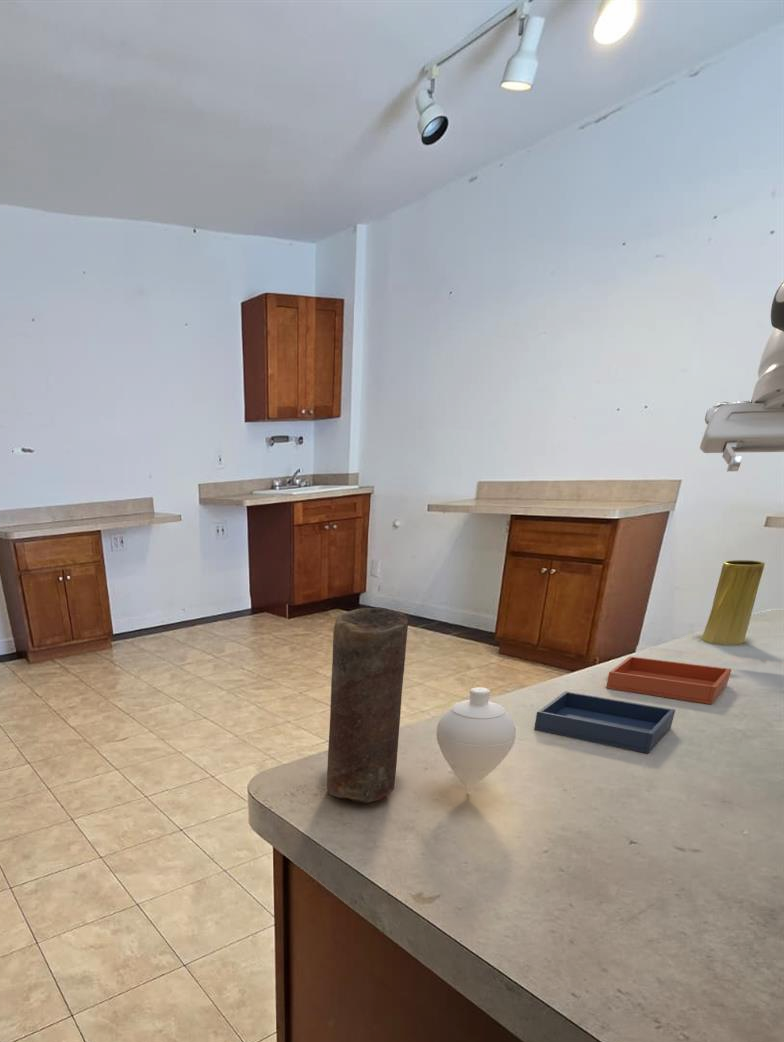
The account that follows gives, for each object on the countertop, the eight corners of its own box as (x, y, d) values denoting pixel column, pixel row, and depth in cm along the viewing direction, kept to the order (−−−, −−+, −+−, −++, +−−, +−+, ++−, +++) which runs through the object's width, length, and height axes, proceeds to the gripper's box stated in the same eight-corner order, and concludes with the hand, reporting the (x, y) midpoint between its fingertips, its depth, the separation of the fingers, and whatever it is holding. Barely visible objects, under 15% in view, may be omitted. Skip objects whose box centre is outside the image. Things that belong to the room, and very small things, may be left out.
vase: (705, 642, 113) (727, 558, 107) (747, 647, 109) (773, 560, 103) (693, 649, 110) (715, 564, 104) (736, 655, 105) (762, 566, 99)
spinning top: (438, 774, 74) (447, 675, 69) (509, 784, 71) (525, 681, 65) (424, 803, 68) (433, 697, 63) (502, 816, 65) (518, 705, 59)
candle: (405, 787, 72) (418, 609, 63) (382, 816, 66) (392, 625, 58) (342, 774, 76) (346, 605, 67) (315, 800, 70) (316, 620, 62)
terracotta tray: (726, 685, 93) (731, 668, 92) (711, 704, 87) (716, 687, 86) (626, 671, 102) (629, 656, 101) (605, 688, 96) (609, 672, 95)
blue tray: (670, 728, 81) (675, 709, 80) (648, 753, 75) (653, 734, 74) (562, 708, 90) (565, 691, 89) (533, 729, 84) (536, 711, 83)
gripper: (713, 389, 110) (697, 455, 107) (873, 380, 100) (859, 453, 98) (703, 417, 115) (688, 481, 113) (854, 412, 105) (840, 482, 103)
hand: (768, 468), depth 105 cm, fingers open, 8 cm apart
